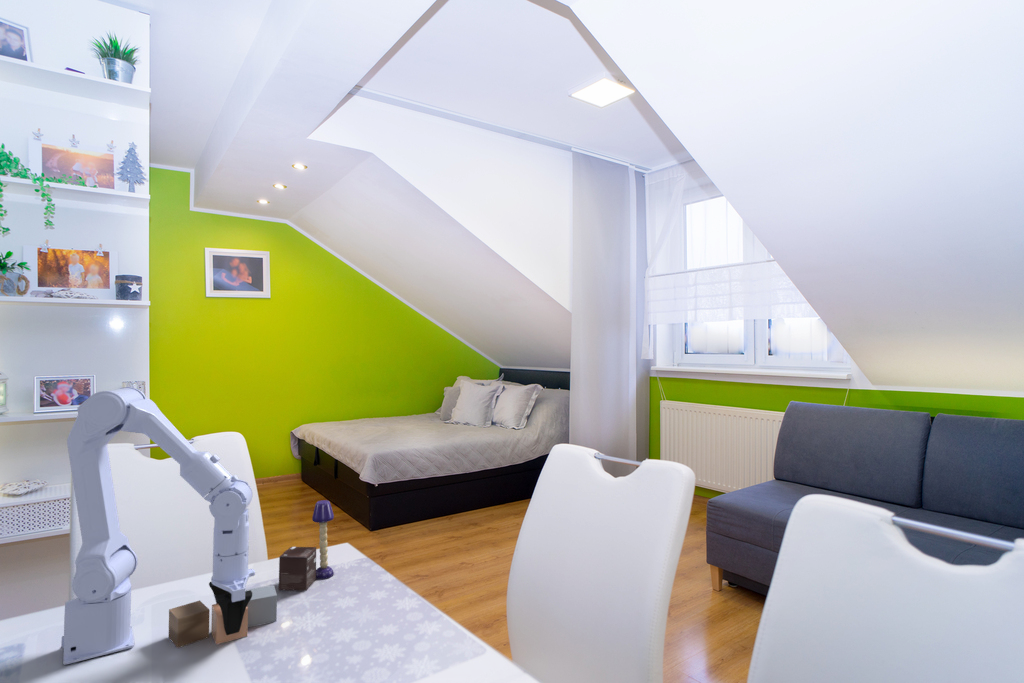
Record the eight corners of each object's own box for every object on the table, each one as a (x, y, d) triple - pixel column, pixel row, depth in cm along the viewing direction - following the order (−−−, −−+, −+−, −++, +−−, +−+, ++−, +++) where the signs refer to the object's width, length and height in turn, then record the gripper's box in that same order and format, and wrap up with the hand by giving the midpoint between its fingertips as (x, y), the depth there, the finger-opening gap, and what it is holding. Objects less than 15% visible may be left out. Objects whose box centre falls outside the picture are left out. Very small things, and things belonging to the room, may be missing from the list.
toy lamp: (313, 581, 124) (314, 505, 124) (309, 573, 128) (311, 500, 128) (335, 577, 126) (336, 502, 126) (331, 569, 130) (332, 497, 130)
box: (306, 591, 119) (306, 557, 119) (277, 591, 119) (278, 556, 119) (316, 579, 125) (317, 546, 125) (289, 579, 125) (290, 546, 125)
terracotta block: (216, 644, 98) (216, 615, 98) (211, 632, 102) (211, 604, 102) (247, 636, 101) (247, 608, 101) (241, 624, 105) (241, 597, 105)
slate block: (247, 627, 104) (247, 600, 104) (245, 616, 108) (245, 590, 108) (276, 621, 106) (276, 595, 106) (273, 610, 110) (273, 584, 111)
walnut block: (177, 648, 96) (178, 619, 96) (168, 637, 100) (169, 609, 100) (208, 637, 100) (209, 609, 100) (199, 627, 103) (199, 600, 103)
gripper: (264, 558, 98) (263, 636, 98) (246, 534, 109) (244, 604, 109) (219, 567, 94) (217, 649, 93) (205, 542, 105) (203, 614, 105)
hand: (229, 626), depth 101 cm, fingers closed on terracotta block, 5 cm apart
